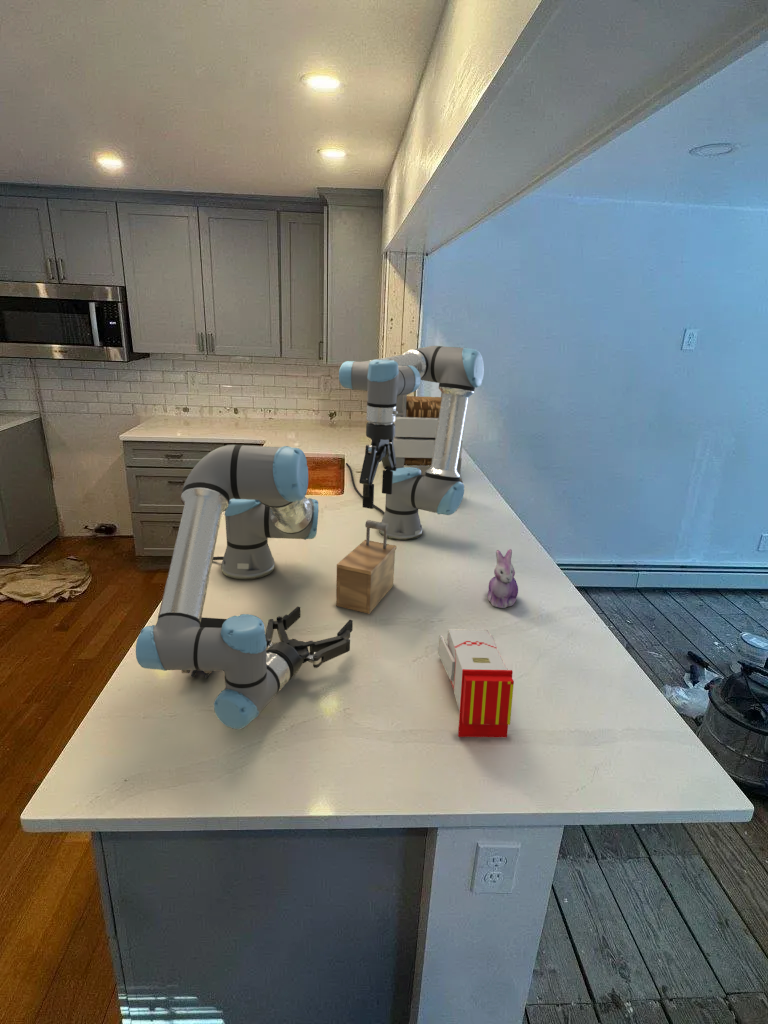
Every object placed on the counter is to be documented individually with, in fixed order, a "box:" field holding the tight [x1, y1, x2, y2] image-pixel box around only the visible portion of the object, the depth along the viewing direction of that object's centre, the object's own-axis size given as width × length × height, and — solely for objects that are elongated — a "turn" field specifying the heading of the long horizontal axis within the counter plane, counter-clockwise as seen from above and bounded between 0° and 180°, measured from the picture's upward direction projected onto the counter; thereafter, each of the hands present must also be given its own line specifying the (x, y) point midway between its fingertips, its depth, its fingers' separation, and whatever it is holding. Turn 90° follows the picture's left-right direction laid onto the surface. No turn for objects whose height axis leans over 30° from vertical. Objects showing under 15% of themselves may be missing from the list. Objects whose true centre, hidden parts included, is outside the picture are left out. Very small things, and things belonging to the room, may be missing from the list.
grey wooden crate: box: [392, 391, 465, 476], centre depth 268 cm, size 34×33×41 cm
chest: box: [335, 550, 396, 615], centre depth 154 cm, size 18×10×11 cm, turn 159°
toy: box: [437, 628, 515, 738], centre depth 117 cm, size 12×13×30 cm
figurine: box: [487, 548, 519, 609], centre depth 154 cm, size 9×10×15 cm
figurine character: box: [180, 616, 228, 679], centre depth 123 cm, size 7×8×15 cm
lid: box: [336, 519, 397, 575], centre depth 151 cm, size 18×10×8 cm, turn 159°
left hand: (324, 618), depth 132 cm, fingers open, 13 cm apart
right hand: (377, 500), depth 153 cm, fingers open, 13 cm apart
